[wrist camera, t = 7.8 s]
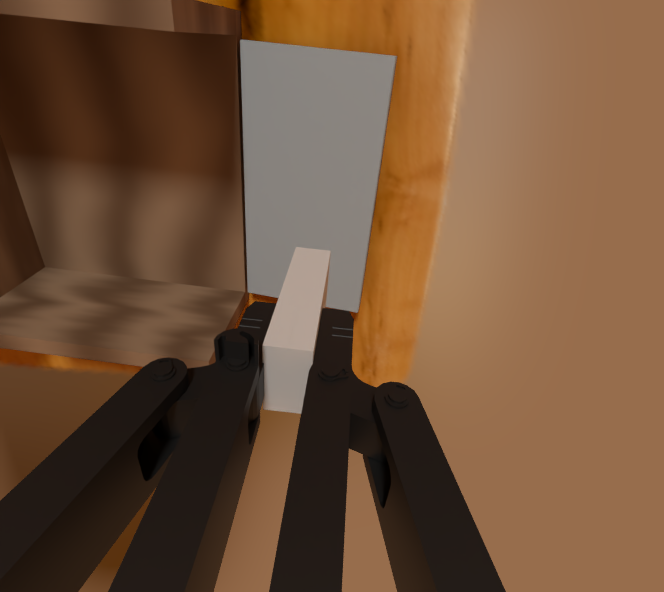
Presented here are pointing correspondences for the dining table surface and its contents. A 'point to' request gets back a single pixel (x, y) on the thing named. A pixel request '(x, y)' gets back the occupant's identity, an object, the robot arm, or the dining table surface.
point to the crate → (121, 179)
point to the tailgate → (312, 160)
